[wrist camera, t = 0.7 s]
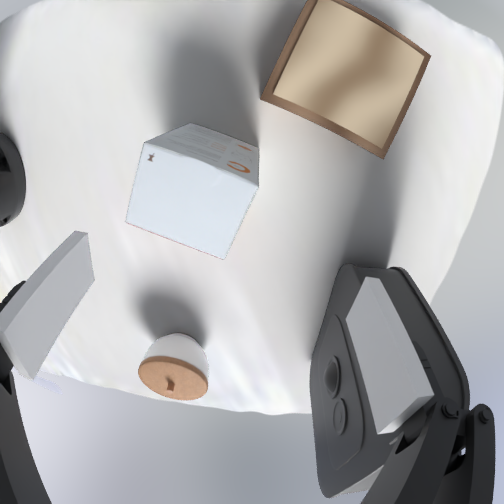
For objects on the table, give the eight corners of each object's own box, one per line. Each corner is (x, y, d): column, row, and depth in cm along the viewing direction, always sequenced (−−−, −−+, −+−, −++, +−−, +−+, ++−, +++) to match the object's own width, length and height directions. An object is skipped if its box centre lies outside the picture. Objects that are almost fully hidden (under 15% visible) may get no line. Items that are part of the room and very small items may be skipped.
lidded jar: (156, 359, 47) (143, 402, 39) (146, 318, 42) (127, 364, 34) (214, 367, 47) (207, 412, 39) (213, 326, 42) (203, 377, 34)
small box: (171, 174, 30) (121, 223, 19) (190, 121, 27) (142, 139, 16) (238, 199, 32) (225, 262, 20) (261, 148, 29) (260, 183, 17)
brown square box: (260, 99, 26) (259, 99, 20) (304, 6, 20) (315, -15, 15) (362, 147, 28) (384, 160, 22) (403, 60, 22) (433, 55, 17)
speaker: (345, 369, 47) (367, 496, 25) (299, 369, 47) (308, 504, 25) (393, 250, 34) (485, 417, 13) (332, 245, 34) (399, 444, 13)
